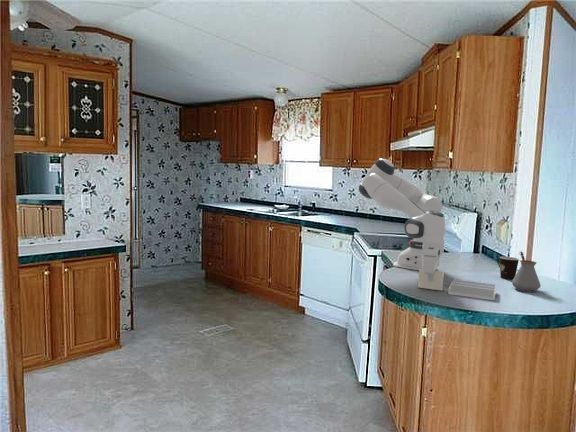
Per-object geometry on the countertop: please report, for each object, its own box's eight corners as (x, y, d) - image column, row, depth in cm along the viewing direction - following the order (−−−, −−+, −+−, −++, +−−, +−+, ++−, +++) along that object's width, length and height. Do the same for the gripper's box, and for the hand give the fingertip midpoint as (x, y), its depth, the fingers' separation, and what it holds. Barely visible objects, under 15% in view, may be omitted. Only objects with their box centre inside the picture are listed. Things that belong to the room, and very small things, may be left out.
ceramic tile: (418, 287, 206) (419, 269, 205) (419, 286, 208) (420, 268, 208) (442, 290, 202) (443, 272, 201) (442, 289, 204) (444, 271, 203)
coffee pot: (543, 294, 203) (546, 260, 201) (514, 291, 206) (516, 258, 204) (531, 283, 223) (534, 252, 222) (505, 280, 226) (508, 250, 225)
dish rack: (448, 294, 198) (448, 284, 198) (451, 287, 210) (452, 278, 210) (494, 300, 191) (495, 290, 190) (495, 293, 202) (496, 284, 202)
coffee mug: (519, 280, 227) (521, 260, 226) (500, 279, 229) (502, 259, 228) (512, 275, 239) (514, 256, 238) (494, 274, 240) (496, 255, 239)
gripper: (429, 244, 214) (427, 274, 215) (421, 251, 196) (419, 284, 197) (443, 246, 211) (441, 276, 213) (437, 253, 193) (435, 286, 194)
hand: (430, 280), depth 205 cm, fingers closed on ceramic tile, 2 cm apart
